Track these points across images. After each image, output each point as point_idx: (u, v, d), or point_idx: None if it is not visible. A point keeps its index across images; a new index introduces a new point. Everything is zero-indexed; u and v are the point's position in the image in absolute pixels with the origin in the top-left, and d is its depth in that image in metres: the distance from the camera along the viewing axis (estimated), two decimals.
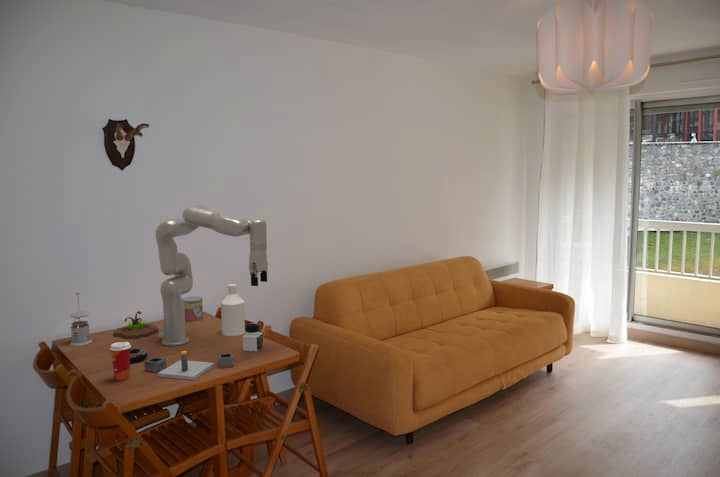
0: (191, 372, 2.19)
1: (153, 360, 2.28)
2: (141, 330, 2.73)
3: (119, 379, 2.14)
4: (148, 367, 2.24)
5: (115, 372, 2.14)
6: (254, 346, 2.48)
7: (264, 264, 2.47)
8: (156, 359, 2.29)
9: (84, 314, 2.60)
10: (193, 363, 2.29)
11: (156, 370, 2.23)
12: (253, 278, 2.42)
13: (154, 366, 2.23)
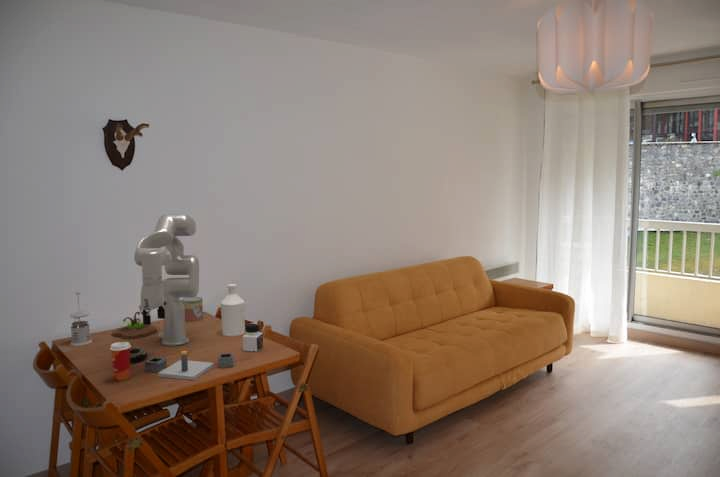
0: (191, 372, 2.19)
1: (153, 360, 2.28)
2: (140, 330, 2.72)
3: (119, 379, 2.14)
4: (148, 367, 2.24)
5: (115, 372, 2.14)
6: (254, 346, 2.48)
7: (159, 300, 2.23)
8: (156, 359, 2.29)
9: (84, 314, 2.60)
10: (193, 363, 2.29)
11: (156, 370, 2.23)
12: (145, 316, 2.18)
13: (154, 366, 2.23)
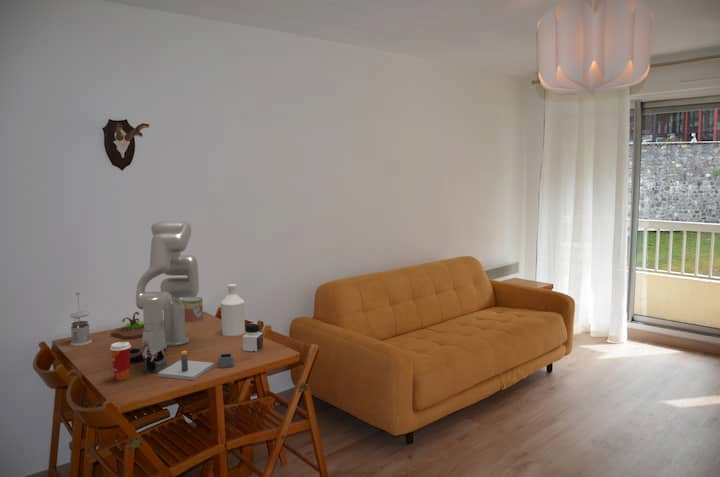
0: (191, 372, 2.19)
1: (153, 360, 2.28)
2: (138, 331, 2.72)
3: (119, 379, 2.14)
4: None
5: (115, 372, 2.14)
6: (254, 346, 2.48)
7: (160, 345, 2.26)
8: (156, 359, 2.29)
9: (84, 314, 2.60)
10: (193, 363, 2.29)
11: (156, 370, 2.23)
12: (148, 362, 2.22)
13: (154, 366, 2.23)
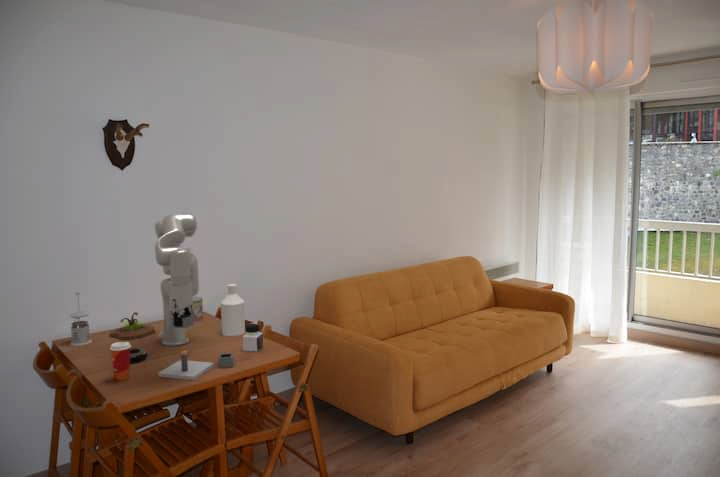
0: (191, 372, 2.19)
1: None
2: (137, 331, 2.71)
3: (119, 379, 2.14)
4: None
5: (115, 372, 2.14)
6: (254, 346, 2.48)
7: (187, 300, 2.17)
8: (183, 316, 2.20)
9: (84, 314, 2.60)
10: (193, 363, 2.29)
11: (183, 326, 2.15)
12: (176, 318, 2.14)
13: None
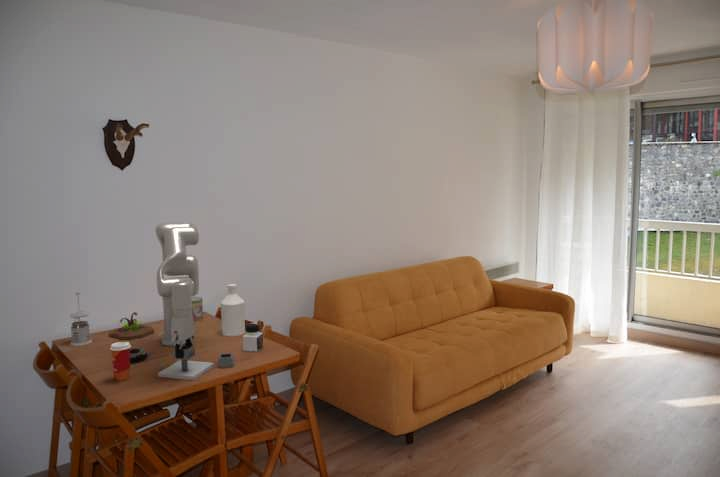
0: (191, 372, 2.19)
1: None
2: (136, 331, 2.71)
3: (119, 379, 2.14)
4: None
5: (115, 372, 2.14)
6: (254, 346, 2.48)
7: (189, 332, 2.19)
8: (184, 347, 2.22)
9: (84, 314, 2.60)
10: (193, 363, 2.29)
11: (185, 358, 2.17)
12: (177, 350, 2.15)
13: (183, 354, 2.17)
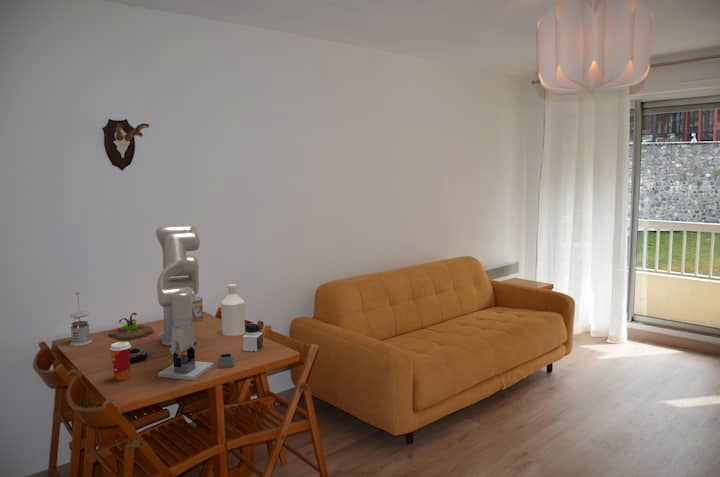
0: (191, 372, 2.19)
1: None
2: (135, 331, 2.70)
3: (119, 379, 2.14)
4: (177, 368, 2.18)
5: (115, 372, 2.14)
6: (254, 346, 2.48)
7: (189, 342, 2.20)
8: None
9: (84, 314, 2.60)
10: None
11: (185, 371, 2.17)
12: (175, 359, 2.15)
13: (183, 368, 2.18)
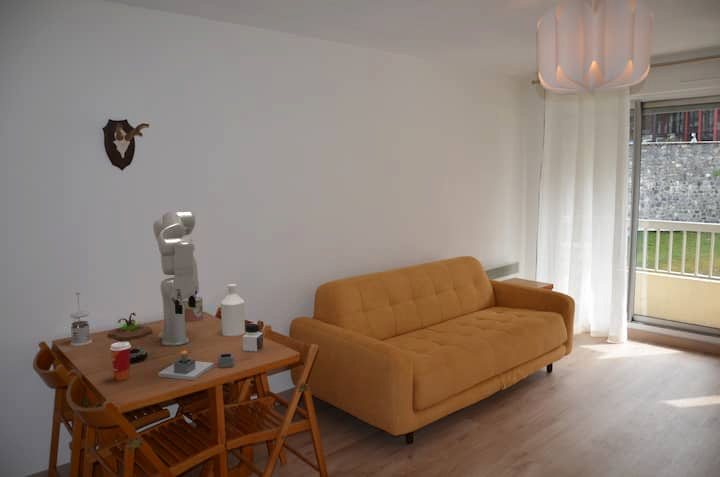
0: (191, 372, 2.19)
1: None
2: (134, 332, 2.70)
3: (119, 379, 2.14)
4: (177, 368, 2.18)
5: (115, 372, 2.14)
6: (254, 346, 2.48)
7: (190, 290, 2.26)
8: None
9: (84, 314, 2.60)
10: None
11: (185, 371, 2.17)
12: (177, 306, 2.21)
13: (183, 368, 2.18)
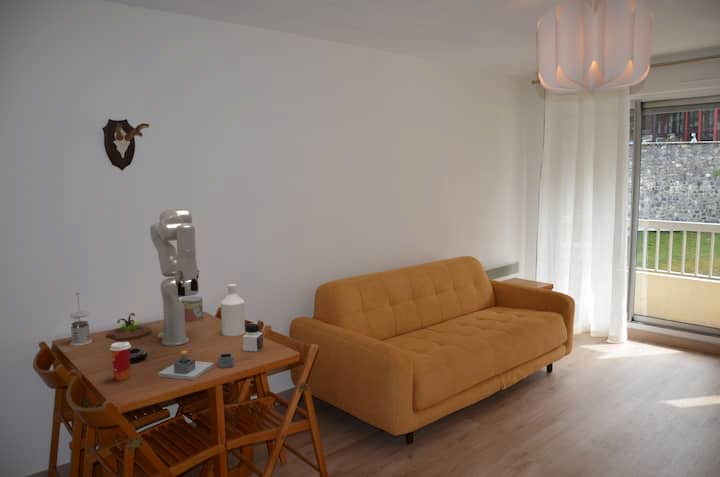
0: (191, 372, 2.19)
1: None
2: (133, 332, 2.70)
3: (119, 379, 2.14)
4: (177, 368, 2.18)
5: (115, 372, 2.14)
6: (254, 346, 2.48)
7: (192, 273, 2.31)
8: None
9: (84, 314, 2.60)
10: None
11: (185, 371, 2.17)
12: (179, 287, 2.26)
13: (183, 368, 2.18)
